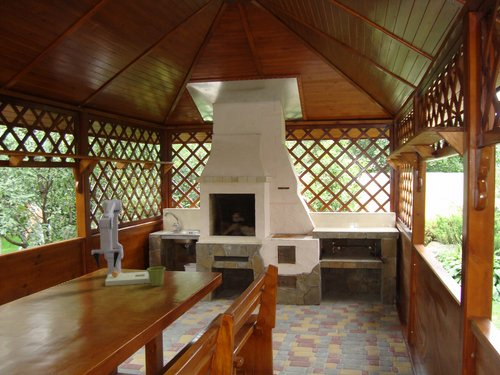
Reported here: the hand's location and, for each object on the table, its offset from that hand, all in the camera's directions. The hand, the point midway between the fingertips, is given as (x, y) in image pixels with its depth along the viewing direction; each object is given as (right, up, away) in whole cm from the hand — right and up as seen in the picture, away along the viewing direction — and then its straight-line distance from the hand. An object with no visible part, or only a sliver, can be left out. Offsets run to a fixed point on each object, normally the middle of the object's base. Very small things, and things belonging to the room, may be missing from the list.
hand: (106, 267), depth 214 cm
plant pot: (+25, -10, +1) cm, 27 cm away
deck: (+9, -10, +12) cm, 18 cm away
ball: (+1, -6, +10) cm, 12 cm away
